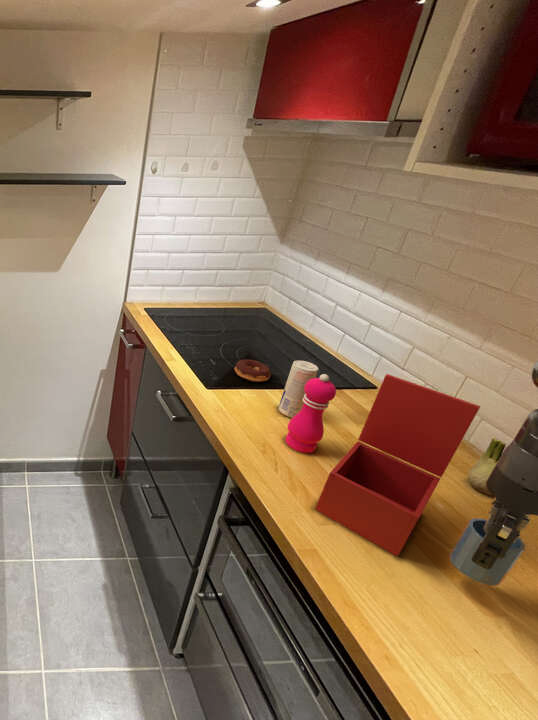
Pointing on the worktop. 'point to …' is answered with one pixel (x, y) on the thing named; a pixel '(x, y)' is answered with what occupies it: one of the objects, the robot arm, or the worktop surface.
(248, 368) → the donut
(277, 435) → the worktop surface
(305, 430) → the pepper mill
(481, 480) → the fennel bulb
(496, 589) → the worktop surface
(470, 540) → the cup
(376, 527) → the cooler
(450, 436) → the cooler lid
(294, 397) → the beverage can
